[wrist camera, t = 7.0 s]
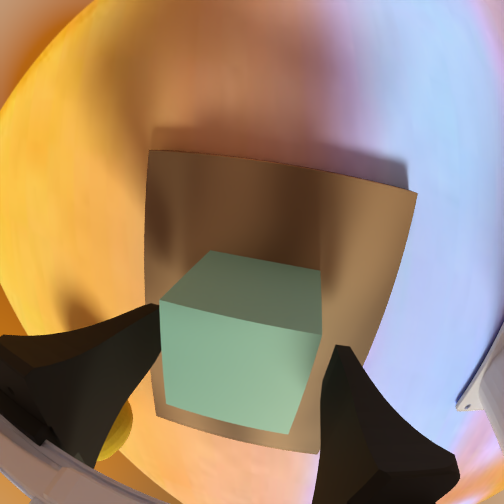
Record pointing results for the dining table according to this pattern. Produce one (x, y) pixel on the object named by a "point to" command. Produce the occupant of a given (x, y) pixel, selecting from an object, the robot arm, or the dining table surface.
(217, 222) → the board
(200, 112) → the dining table surface
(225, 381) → the block
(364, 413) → the robot arm
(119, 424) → the lemon
